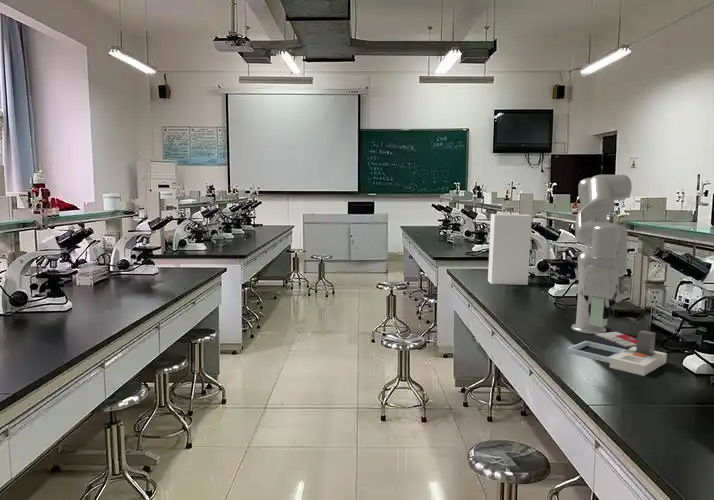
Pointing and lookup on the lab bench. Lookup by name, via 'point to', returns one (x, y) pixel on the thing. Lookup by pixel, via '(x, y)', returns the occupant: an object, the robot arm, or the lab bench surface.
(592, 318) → the sage plug
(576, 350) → the light blue square frame
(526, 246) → the storage box
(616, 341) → the calculator
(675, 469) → the lab bench surface
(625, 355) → the power strip
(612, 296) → the robot arm
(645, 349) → the dark gray block
